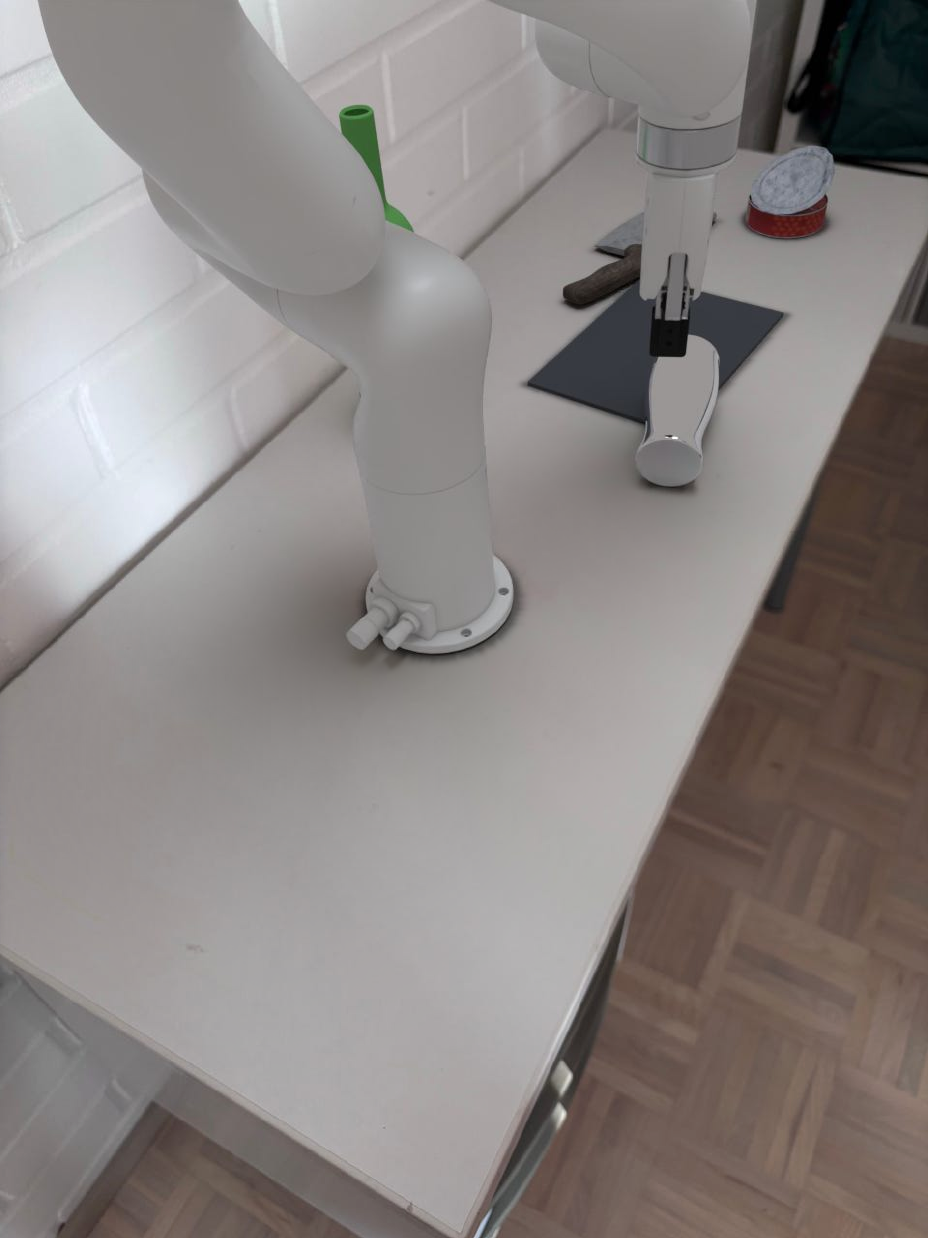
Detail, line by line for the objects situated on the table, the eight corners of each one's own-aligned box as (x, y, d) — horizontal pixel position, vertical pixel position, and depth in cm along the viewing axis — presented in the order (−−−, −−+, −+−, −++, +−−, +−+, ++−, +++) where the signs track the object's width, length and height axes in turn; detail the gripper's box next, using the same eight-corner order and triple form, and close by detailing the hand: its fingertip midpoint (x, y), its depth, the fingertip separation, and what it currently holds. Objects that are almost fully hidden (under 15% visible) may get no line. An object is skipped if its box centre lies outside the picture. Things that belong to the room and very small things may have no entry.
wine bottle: (417, 384, 104) (380, 86, 82) (448, 419, 99) (417, 112, 77) (352, 406, 102) (296, 107, 80) (380, 443, 97) (328, 136, 75)
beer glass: (690, 425, 83) (706, 322, 91) (618, 445, 87) (640, 345, 95) (718, 480, 87) (732, 377, 96) (648, 497, 91) (667, 397, 100)
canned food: (816, 262, 125) (847, 211, 115) (740, 258, 125) (765, 207, 115) (811, 189, 128) (841, 134, 118) (737, 186, 128) (761, 130, 118)
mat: (679, 434, 94) (679, 431, 94) (527, 385, 102) (527, 381, 102) (783, 315, 108) (783, 312, 108) (642, 279, 116) (642, 276, 116)
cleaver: (597, 314, 111) (597, 298, 109) (530, 292, 115) (529, 276, 114) (722, 219, 125) (724, 203, 124) (658, 203, 130) (659, 187, 129)
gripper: (639, 100, 77) (628, 308, 90) (632, 180, 67) (620, 399, 80) (735, 98, 75) (709, 309, 89) (742, 179, 66) (711, 402, 79)
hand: (667, 351), depth 85 cm, fingers closed
